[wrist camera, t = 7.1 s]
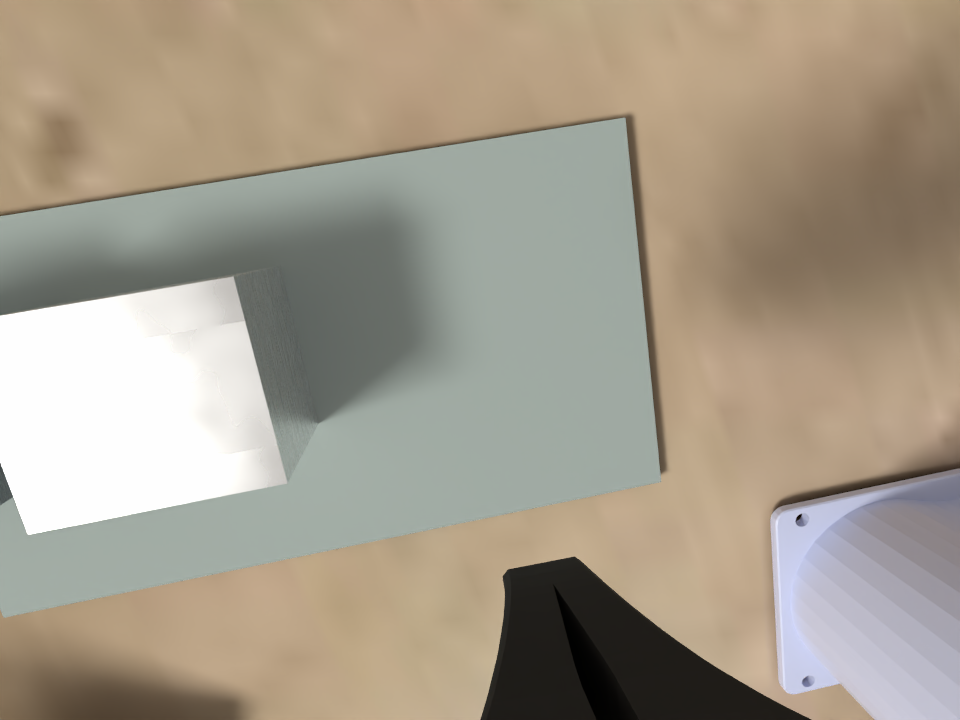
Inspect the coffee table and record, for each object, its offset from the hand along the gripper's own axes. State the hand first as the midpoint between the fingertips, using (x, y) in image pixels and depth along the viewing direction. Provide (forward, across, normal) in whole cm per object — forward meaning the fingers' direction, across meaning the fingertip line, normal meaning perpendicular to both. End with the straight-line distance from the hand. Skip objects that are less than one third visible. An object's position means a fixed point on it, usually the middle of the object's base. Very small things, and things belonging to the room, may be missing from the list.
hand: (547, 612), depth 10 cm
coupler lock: (+9, +8, -4) cm, 13 cm away
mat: (+9, +5, -3) cm, 11 cm away
